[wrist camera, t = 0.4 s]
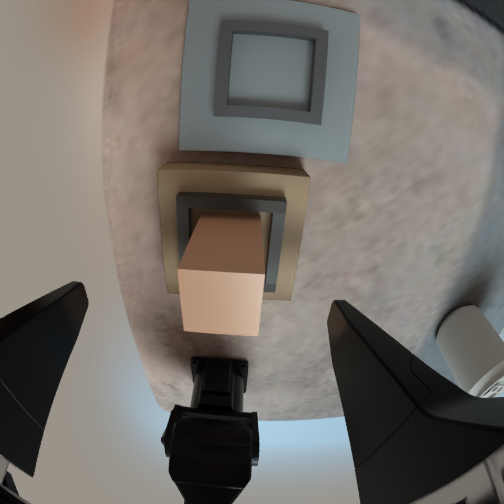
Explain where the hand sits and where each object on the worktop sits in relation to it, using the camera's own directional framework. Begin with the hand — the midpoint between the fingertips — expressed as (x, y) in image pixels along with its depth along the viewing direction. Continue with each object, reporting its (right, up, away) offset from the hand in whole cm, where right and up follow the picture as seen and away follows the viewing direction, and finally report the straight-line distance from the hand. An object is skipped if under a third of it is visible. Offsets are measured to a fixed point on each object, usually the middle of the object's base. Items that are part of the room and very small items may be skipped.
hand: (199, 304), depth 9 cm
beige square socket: (0, +4, +13) cm, 13 cm away
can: (+28, -8, +19) cm, 35 cm away
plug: (0, +2, +11) cm, 11 cm away
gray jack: (+3, +14, +7) cm, 16 cm away
